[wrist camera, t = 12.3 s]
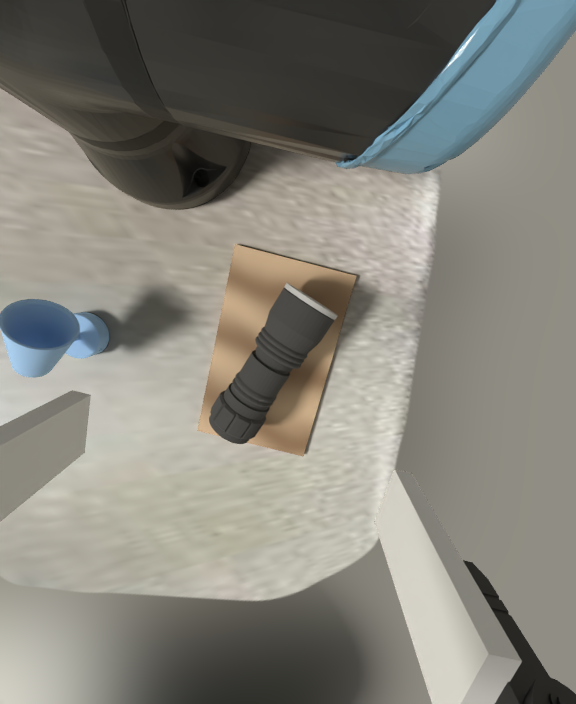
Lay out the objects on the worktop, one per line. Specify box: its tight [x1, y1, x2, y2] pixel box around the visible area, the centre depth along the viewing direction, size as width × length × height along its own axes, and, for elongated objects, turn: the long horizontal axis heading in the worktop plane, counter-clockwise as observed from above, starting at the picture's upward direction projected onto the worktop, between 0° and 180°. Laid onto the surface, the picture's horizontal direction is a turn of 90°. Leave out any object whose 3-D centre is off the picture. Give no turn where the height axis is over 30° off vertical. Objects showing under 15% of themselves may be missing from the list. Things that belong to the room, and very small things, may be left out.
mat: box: [197, 244, 356, 456], centre depth 32 cm, size 20×12×1 cm, turn 166°
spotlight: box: [0, 299, 109, 377], centre depth 27 cm, size 5×10×7 cm
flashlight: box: [209, 283, 337, 444], centre depth 29 cm, size 15×5×5 cm, turn 148°
